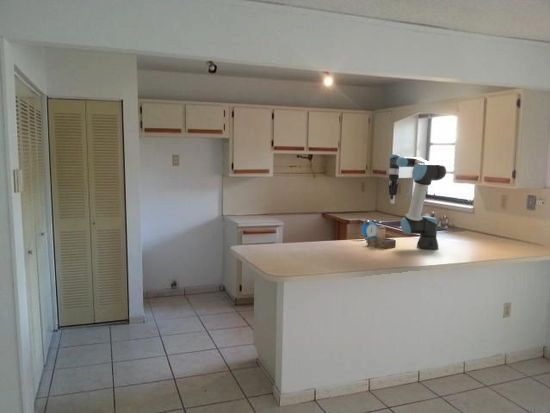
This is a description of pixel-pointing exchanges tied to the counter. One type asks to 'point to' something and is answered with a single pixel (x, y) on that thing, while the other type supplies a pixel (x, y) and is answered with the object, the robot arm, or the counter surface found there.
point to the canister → (381, 233)
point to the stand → (381, 244)
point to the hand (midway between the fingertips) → (392, 203)
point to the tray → (376, 239)
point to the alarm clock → (369, 228)
